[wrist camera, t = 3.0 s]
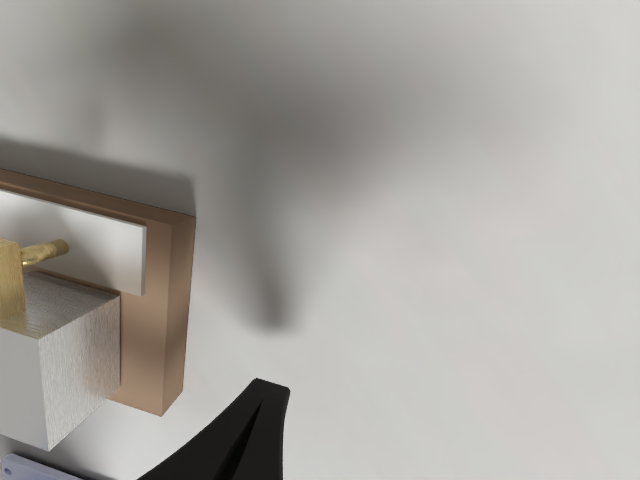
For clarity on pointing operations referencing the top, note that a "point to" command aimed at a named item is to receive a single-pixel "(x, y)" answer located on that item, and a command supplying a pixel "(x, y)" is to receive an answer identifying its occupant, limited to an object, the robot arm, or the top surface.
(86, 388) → the block
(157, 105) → the top surface
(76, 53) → the top surface
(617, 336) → the top surface
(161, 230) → the gauge board
